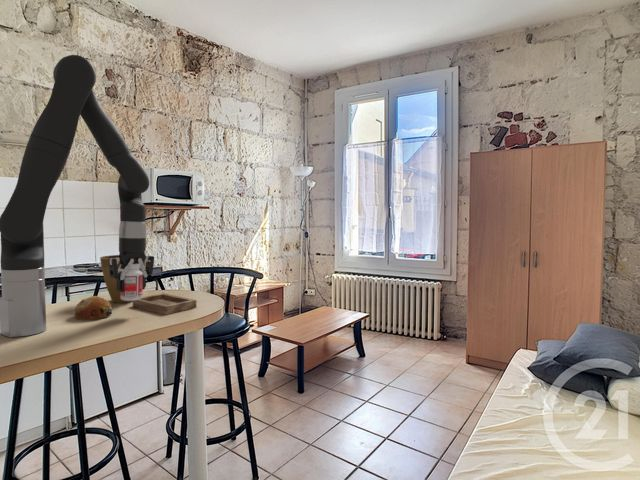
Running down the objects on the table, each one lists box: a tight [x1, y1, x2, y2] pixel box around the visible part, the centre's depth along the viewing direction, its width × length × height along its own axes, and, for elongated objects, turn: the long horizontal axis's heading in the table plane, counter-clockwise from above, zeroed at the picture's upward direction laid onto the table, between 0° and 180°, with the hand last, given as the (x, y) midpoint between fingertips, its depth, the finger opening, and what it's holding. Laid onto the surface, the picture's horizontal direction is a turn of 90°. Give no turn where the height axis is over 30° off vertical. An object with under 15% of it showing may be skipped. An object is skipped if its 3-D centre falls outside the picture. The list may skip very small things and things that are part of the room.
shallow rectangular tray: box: [132, 292, 197, 316], centre depth 137 cm, size 12×18×2 cm, turn 57°
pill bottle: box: [120, 264, 144, 302], centre depth 123 cm, size 6×6×11 cm
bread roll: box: [73, 295, 114, 321], centre depth 124 cm, size 10×10×8 cm
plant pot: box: [99, 254, 146, 304], centre depth 144 cm, size 15×15×16 cm
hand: (131, 290), depth 123 cm, fingers closed on pill bottle, 6 cm apart
